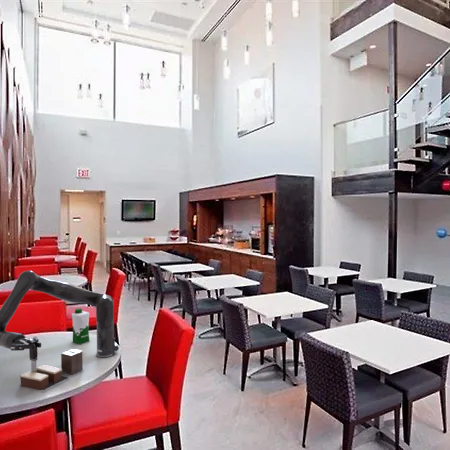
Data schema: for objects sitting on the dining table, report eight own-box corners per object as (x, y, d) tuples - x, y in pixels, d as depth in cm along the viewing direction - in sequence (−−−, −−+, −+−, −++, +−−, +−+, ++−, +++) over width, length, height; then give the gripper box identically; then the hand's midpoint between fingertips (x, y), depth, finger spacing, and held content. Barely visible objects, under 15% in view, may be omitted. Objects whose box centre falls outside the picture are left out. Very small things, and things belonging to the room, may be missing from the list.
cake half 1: (20, 385, 170) (20, 375, 170) (28, 381, 174) (28, 371, 174) (40, 390, 166) (40, 379, 166) (48, 385, 170) (48, 375, 170)
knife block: (61, 374, 184) (61, 353, 184) (72, 368, 191) (72, 348, 190) (71, 376, 181) (71, 355, 181) (82, 371, 188) (82, 350, 187)
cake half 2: (36, 378, 178) (36, 367, 178) (44, 374, 182) (44, 364, 182) (54, 383, 173) (54, 372, 173) (62, 379, 177) (62, 368, 177)
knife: (29, 381, 173) (28, 341, 172) (34, 379, 175) (32, 339, 174) (34, 382, 172) (33, 342, 171) (38, 380, 174) (37, 340, 173)
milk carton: (82, 338, 236) (82, 307, 235) (91, 341, 231) (91, 309, 231) (70, 342, 229) (69, 310, 228) (79, 345, 224) (79, 312, 223)
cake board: (21, 385, 172) (21, 383, 172) (46, 373, 185) (46, 371, 185) (43, 392, 166) (43, 390, 166) (68, 379, 179) (68, 377, 179)
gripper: (-2, 337, 172) (23, 343, 165) (25, 328, 185) (50, 333, 178) (-2, 353, 172) (24, 359, 165) (25, 343, 185) (50, 349, 178)
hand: (37, 346), depth 172 cm, fingers closed on knife, 2 cm apart
